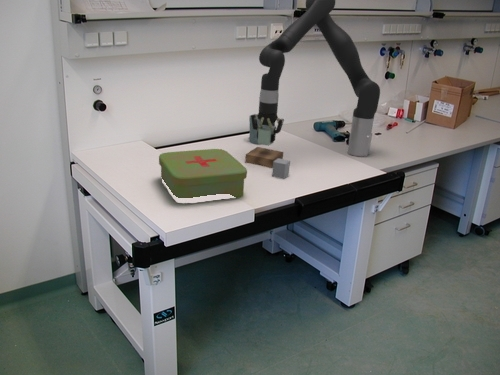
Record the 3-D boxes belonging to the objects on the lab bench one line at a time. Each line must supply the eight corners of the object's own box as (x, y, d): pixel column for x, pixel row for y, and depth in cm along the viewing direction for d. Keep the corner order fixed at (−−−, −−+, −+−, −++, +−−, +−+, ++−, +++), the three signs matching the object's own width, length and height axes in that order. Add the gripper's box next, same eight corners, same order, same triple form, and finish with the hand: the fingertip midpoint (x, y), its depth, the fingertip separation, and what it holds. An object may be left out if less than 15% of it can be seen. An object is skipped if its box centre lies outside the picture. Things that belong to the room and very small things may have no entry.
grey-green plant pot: (244, 142, 228) (246, 117, 223) (252, 137, 237) (254, 112, 232) (265, 146, 225) (267, 120, 220) (272, 140, 233) (274, 116, 229)
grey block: (288, 175, 192) (290, 160, 190) (284, 179, 188) (285, 164, 186) (276, 172, 194) (278, 158, 192) (272, 176, 190) (273, 161, 188)
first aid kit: (175, 207, 159) (175, 178, 156) (156, 178, 181) (156, 152, 177) (249, 198, 170) (251, 171, 166) (222, 172, 191) (223, 147, 188)
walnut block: (282, 160, 209) (283, 151, 207) (272, 169, 198) (272, 159, 197) (256, 155, 213) (257, 146, 211) (245, 163, 203) (245, 154, 201)
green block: (273, 142, 204) (274, 128, 201) (268, 145, 200) (269, 131, 197) (262, 140, 206) (263, 126, 203) (257, 143, 201) (258, 129, 199)
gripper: (288, 101, 196) (285, 142, 203) (256, 96, 202) (253, 136, 208) (282, 104, 190) (278, 146, 196) (248, 99, 195) (246, 140, 202)
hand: (265, 140), depth 202 cm, fingers closed on green block, 5 cm apart
